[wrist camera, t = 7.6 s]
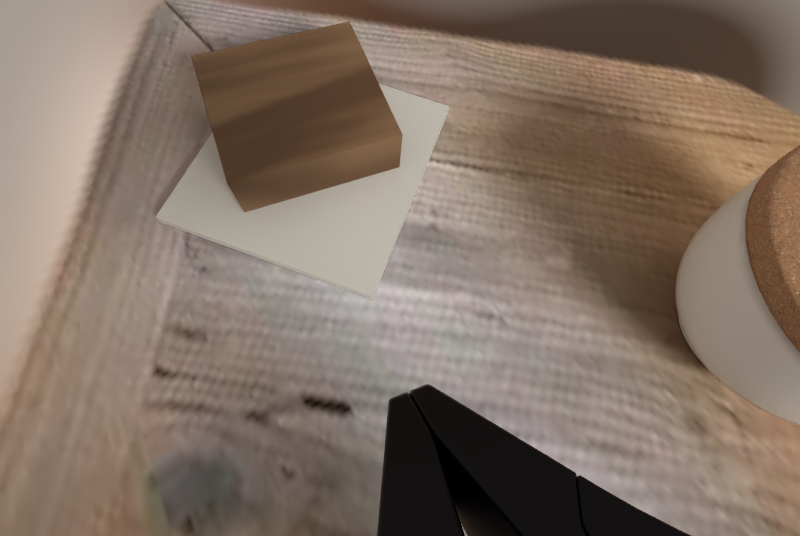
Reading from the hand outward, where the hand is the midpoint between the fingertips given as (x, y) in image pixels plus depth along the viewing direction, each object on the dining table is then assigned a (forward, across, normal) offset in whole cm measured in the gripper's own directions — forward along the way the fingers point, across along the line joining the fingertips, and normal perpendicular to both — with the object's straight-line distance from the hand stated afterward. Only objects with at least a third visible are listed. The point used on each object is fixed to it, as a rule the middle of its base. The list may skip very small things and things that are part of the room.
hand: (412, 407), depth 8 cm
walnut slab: (+18, -1, -2) cm, 18 cm away
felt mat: (+21, -1, -2) cm, 21 cm away
